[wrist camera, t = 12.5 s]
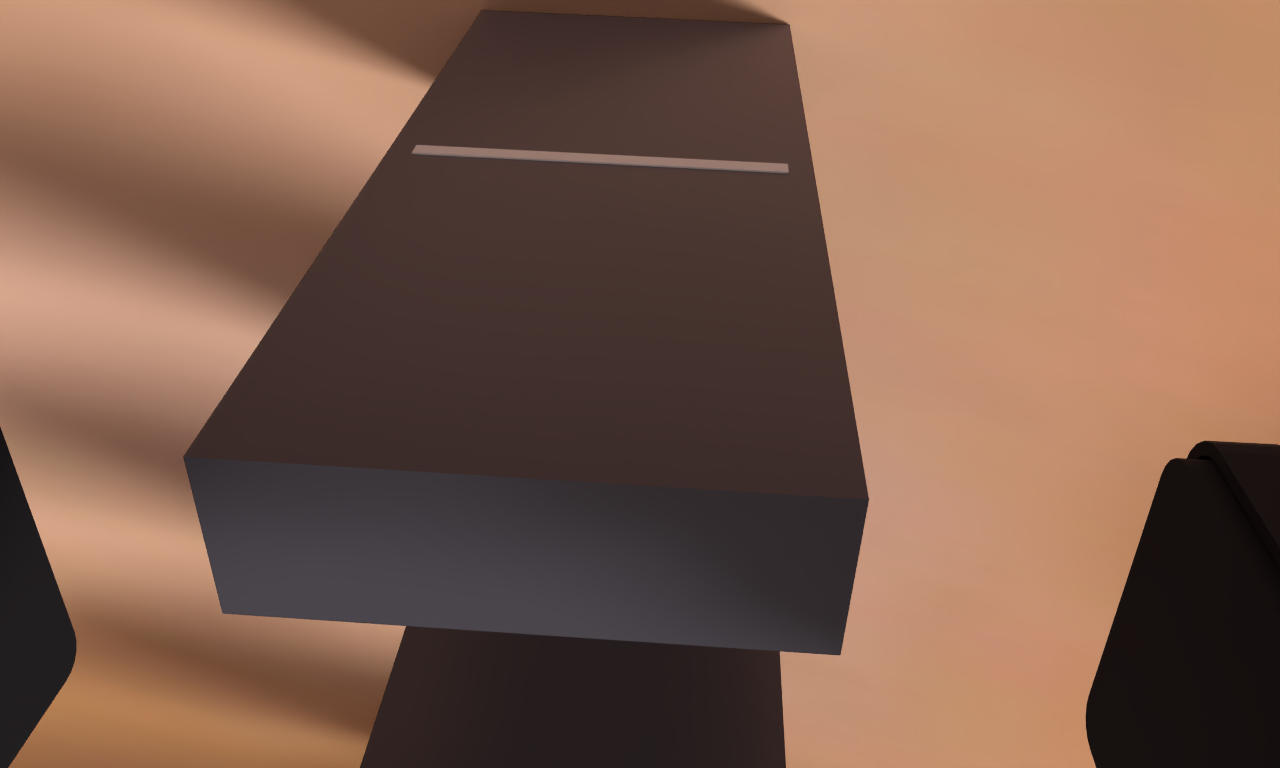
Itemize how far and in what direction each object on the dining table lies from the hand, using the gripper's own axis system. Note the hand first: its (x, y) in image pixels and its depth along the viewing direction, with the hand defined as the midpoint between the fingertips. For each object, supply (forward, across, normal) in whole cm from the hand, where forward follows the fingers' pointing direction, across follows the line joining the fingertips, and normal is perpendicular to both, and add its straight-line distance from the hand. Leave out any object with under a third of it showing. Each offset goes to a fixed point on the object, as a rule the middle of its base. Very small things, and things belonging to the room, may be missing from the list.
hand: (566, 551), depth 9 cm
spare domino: (+11, 0, -1) cm, 11 cm away
